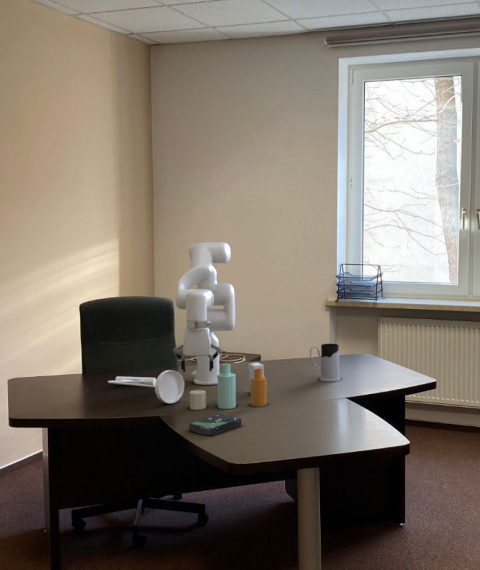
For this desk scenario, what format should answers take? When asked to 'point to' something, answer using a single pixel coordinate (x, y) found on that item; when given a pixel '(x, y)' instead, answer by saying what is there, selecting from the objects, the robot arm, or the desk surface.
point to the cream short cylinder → (197, 399)
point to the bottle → (226, 388)
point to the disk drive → (214, 424)
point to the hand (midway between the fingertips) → (197, 371)
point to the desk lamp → (158, 385)
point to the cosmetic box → (251, 370)
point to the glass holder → (328, 362)
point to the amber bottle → (258, 388)
